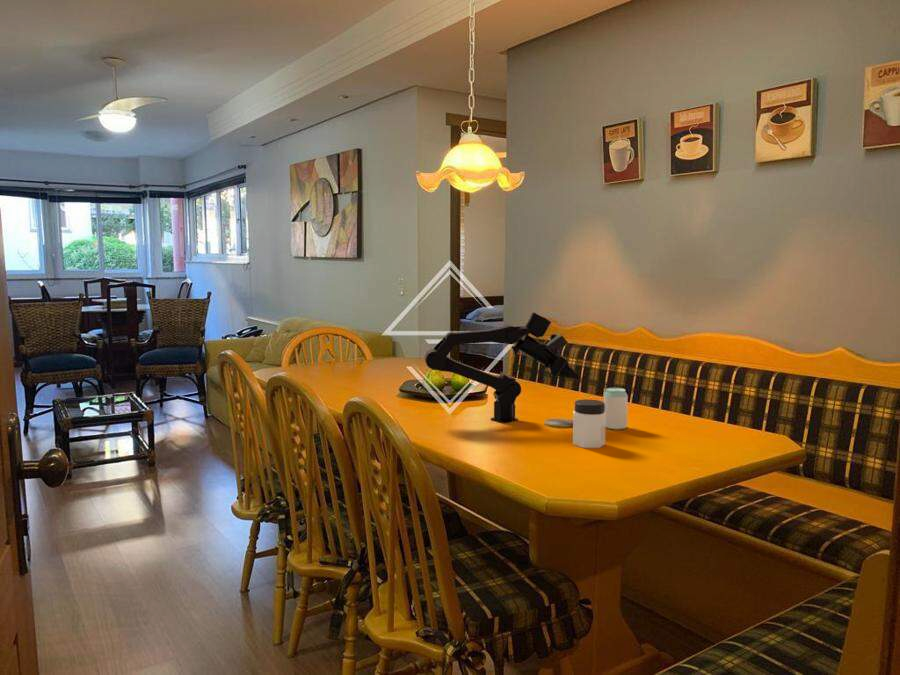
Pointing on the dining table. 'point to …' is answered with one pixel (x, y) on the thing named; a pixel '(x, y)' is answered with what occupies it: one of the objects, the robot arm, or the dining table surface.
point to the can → (616, 408)
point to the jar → (589, 423)
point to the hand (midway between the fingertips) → (576, 374)
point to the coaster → (559, 422)
